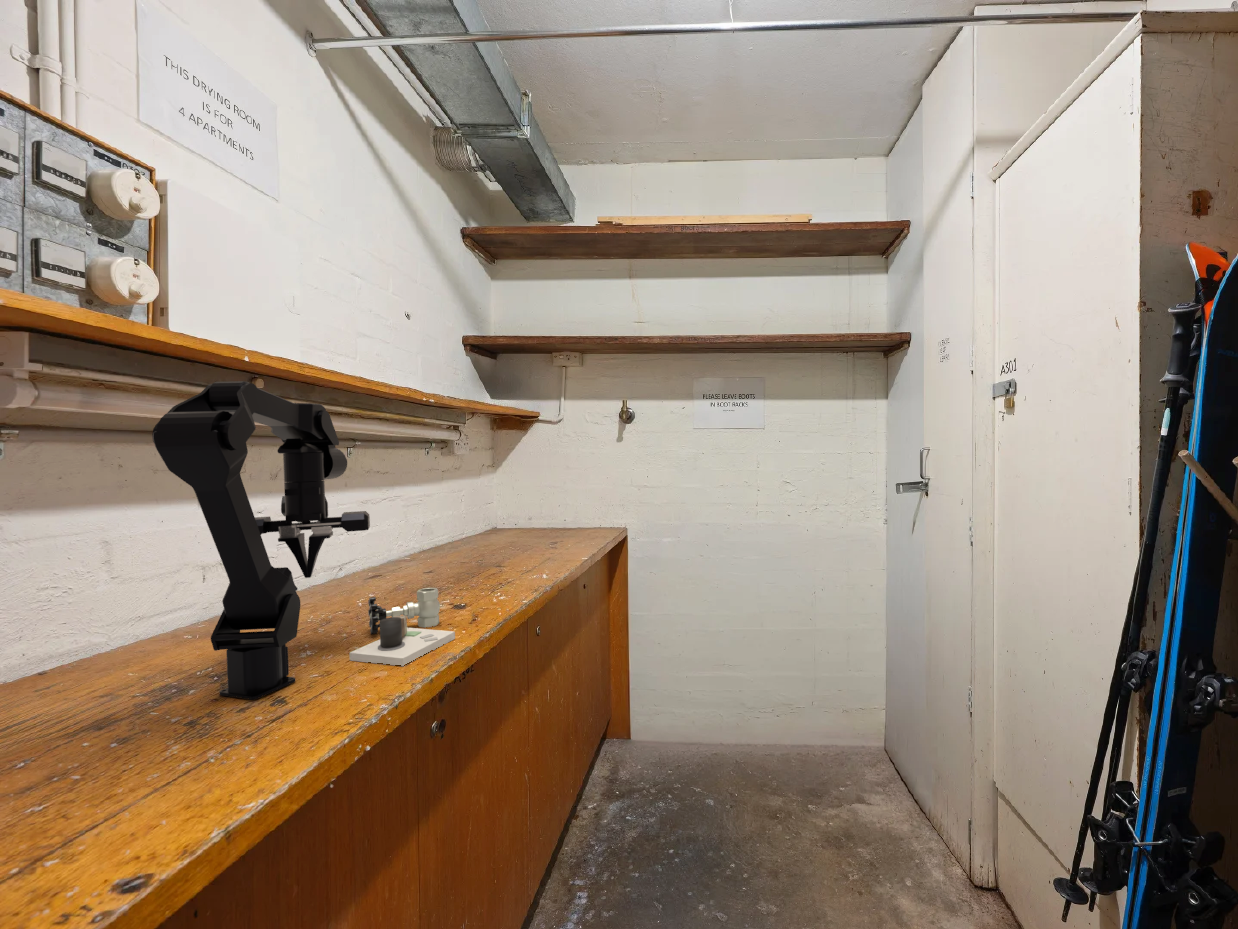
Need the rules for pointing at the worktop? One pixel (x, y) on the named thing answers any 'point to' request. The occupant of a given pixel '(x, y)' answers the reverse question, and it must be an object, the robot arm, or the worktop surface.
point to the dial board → (403, 647)
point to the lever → (392, 631)
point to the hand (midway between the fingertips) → (308, 577)
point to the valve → (409, 610)
